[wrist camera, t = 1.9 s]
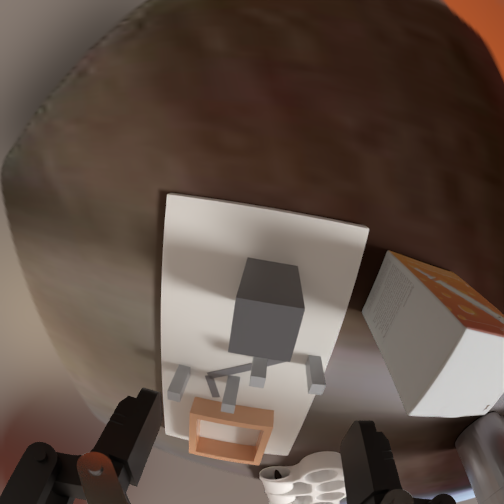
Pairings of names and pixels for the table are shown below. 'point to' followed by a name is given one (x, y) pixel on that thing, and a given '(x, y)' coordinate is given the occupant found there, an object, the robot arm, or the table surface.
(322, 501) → the white brass knuckles
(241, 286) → the dark grey block
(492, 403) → the small box
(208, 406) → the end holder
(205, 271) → the board
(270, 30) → the table surface
